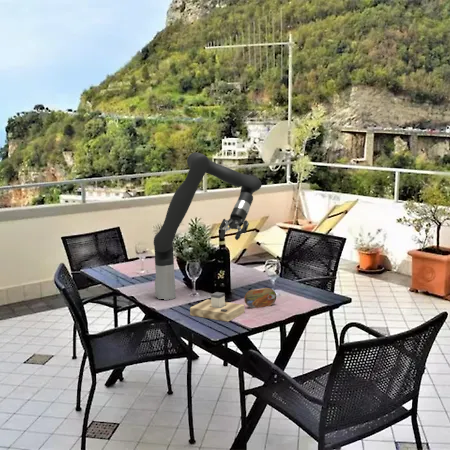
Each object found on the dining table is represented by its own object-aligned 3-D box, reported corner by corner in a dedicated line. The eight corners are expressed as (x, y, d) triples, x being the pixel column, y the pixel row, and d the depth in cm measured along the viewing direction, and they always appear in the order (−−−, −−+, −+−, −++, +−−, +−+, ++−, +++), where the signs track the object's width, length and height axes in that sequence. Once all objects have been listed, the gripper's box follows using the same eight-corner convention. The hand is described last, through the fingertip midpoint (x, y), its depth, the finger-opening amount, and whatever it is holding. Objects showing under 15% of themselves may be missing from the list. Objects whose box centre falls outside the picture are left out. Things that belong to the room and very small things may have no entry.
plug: (211, 313, 252) (210, 294, 251) (217, 311, 256) (216, 292, 254) (219, 315, 250) (219, 295, 248) (225, 312, 253) (224, 293, 252)
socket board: (190, 315, 251) (189, 306, 251) (207, 306, 263) (207, 298, 262) (228, 321, 241) (227, 312, 240) (244, 312, 252) (244, 303, 252)
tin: (246, 309, 257) (245, 291, 255) (243, 307, 260) (243, 289, 258) (276, 305, 261) (276, 287, 260) (274, 303, 264) (273, 286, 263)
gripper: (225, 206, 278) (213, 232, 270) (249, 207, 270) (238, 234, 262) (231, 215, 283) (219, 241, 275) (255, 216, 275) (244, 243, 268)
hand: (228, 238), depth 269 cm, fingers open, 8 cm apart
